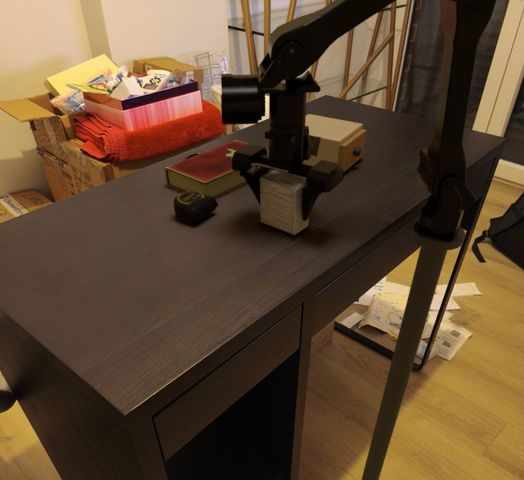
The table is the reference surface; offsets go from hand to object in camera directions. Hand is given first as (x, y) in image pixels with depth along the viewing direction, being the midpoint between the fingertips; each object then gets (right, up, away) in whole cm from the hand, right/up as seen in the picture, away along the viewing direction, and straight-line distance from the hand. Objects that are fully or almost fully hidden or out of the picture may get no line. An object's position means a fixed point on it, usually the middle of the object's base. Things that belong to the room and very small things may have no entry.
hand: (284, 214), depth 85 cm
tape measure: (-16, +1, +5) cm, 17 cm away
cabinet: (+9, +19, +24) cm, 32 cm away
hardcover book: (-13, +13, +18) cm, 25 cm away
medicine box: (0, -2, +2) cm, 2 cm away
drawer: (+11, +19, +23) cm, 32 cm away
